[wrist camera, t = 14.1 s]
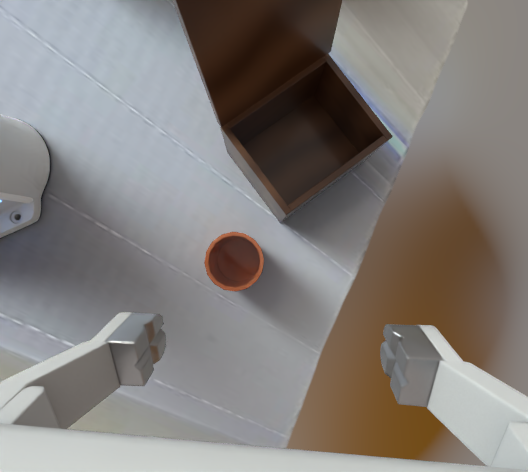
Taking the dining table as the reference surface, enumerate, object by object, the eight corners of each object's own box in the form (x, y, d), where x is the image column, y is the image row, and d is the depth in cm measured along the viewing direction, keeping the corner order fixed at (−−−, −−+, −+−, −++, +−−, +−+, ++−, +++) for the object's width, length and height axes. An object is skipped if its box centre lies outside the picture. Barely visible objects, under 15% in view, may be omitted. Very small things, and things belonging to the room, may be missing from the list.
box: (366, 159, 37) (392, 136, 30) (280, 222, 36) (286, 215, 29) (313, 91, 38) (327, 52, 31) (227, 152, 37) (220, 127, 29)
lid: (372, -132, 17) (327, -168, 18) (174, -4, 16) (136, -49, 17) (330, 51, 30) (306, 26, 31) (221, 127, 29) (199, 99, 30)
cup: (233, 292, 35) (227, 302, 28) (206, 255, 36) (193, 255, 28) (271, 264, 36) (275, 267, 28) (243, 227, 36) (240, 220, 29)
